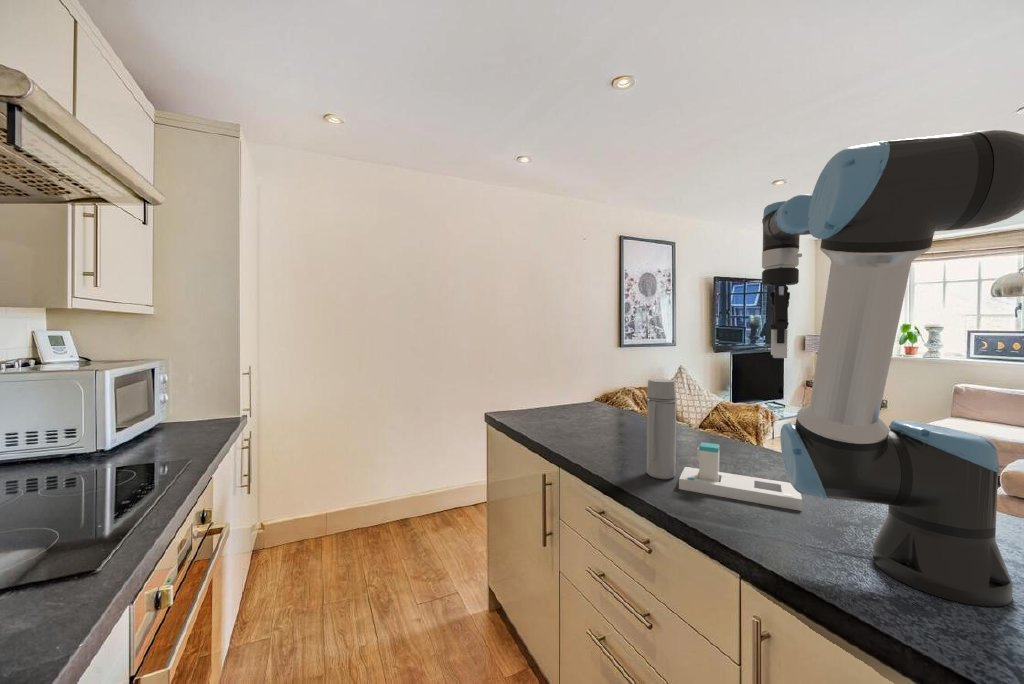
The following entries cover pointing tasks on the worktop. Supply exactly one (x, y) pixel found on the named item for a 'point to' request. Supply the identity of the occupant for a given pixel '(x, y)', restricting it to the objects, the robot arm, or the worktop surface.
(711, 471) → the plug
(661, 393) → the water bottle
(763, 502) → the panel
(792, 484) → the robot arm
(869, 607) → the worktop surface
